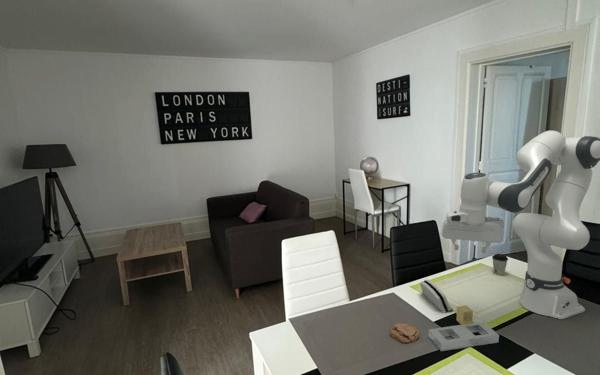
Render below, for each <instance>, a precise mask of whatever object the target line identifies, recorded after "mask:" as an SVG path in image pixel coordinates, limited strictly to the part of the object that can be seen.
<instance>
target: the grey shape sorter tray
mask: <svg viewBox="0 0 600 375" xmlns="http://www.w3.org/2000/svg"><path fill="white" fill-rule="evenodd" d="M474 333H478V334H479V335H477V334H476V335H475V334H474ZM446 337H451V338H450V339H446ZM428 339H430V340H431V341H432V342H433V343H434V345H435V346H436V347H437V348H438V350H440V352H446V351H453V350H458V349H459V350H460V349H465V348H472V347H478V346H484V345H489V344H490V345H491V344H497V343H499V342H500V341H499V339H500V334H499V333H498V332H496V331H495V330H494V329H492V327H490V326H489V325H487V324H486V323H485V322H484V321H480V322H472V323H470V324H463V325H461V324H458V325H450V326H444V327H437V328H431V329H428Z"/></svg>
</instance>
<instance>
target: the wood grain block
mask: <svg viewBox="0 0 600 375" xmlns="http://www.w3.org/2000/svg"><path fill="white" fill-rule="evenodd" d="M473 316H474V310H473V309H471V307H469V306H468V305H458V306H456V321H457V322H458V324H459V325H463V324H470V323H474V322H473V319H474V318H473Z"/></svg>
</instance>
